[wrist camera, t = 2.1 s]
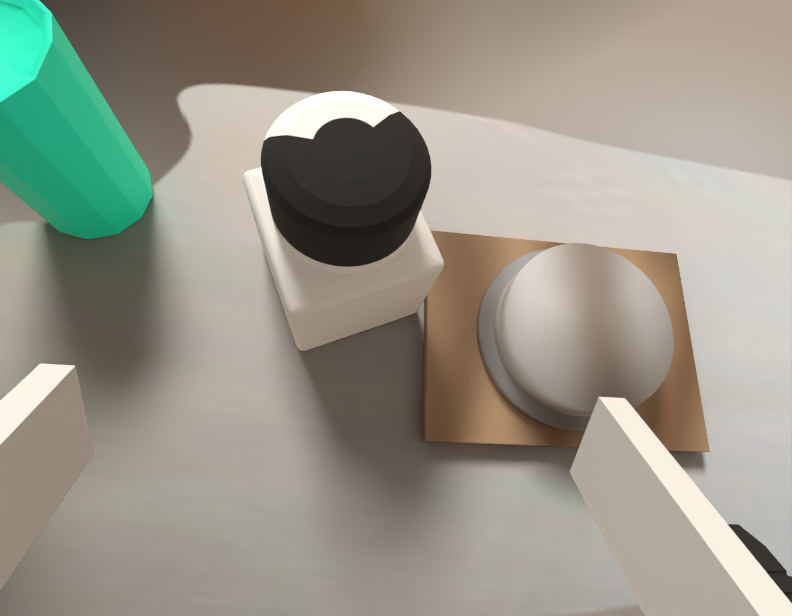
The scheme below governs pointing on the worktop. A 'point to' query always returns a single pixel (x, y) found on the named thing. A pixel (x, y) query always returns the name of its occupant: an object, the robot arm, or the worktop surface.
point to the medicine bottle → (344, 215)
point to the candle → (62, 132)
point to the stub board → (476, 397)
